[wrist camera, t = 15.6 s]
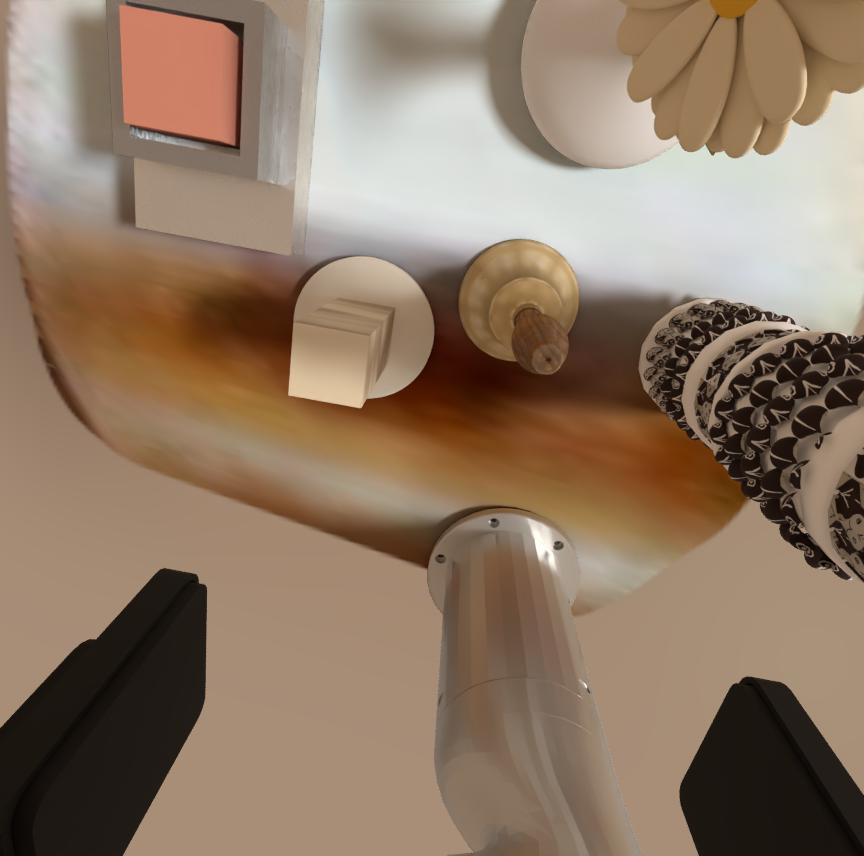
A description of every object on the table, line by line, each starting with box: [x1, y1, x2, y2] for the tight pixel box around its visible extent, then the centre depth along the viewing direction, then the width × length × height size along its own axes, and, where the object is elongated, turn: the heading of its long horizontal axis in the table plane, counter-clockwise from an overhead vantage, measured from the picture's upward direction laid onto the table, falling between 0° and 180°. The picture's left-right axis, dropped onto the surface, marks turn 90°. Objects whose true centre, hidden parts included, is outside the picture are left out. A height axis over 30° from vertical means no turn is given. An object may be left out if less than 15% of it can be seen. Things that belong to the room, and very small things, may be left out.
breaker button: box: [119, 5, 244, 150], centre depth 28 cm, size 5×5×4 cm
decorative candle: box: [638, 299, 864, 582], centre depth 25 cm, size 9×9×25 cm
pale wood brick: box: [288, 298, 395, 408], centre depth 32 cm, size 4×4×10 cm
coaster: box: [294, 256, 434, 399], centre depth 37 cm, size 10×10×1 cm
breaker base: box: [106, 0, 324, 256], centre depth 30 cm, size 16×10×6 cm, turn 170°
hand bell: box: [459, 239, 580, 375], centre depth 29 cm, size 8×8×16 cm
